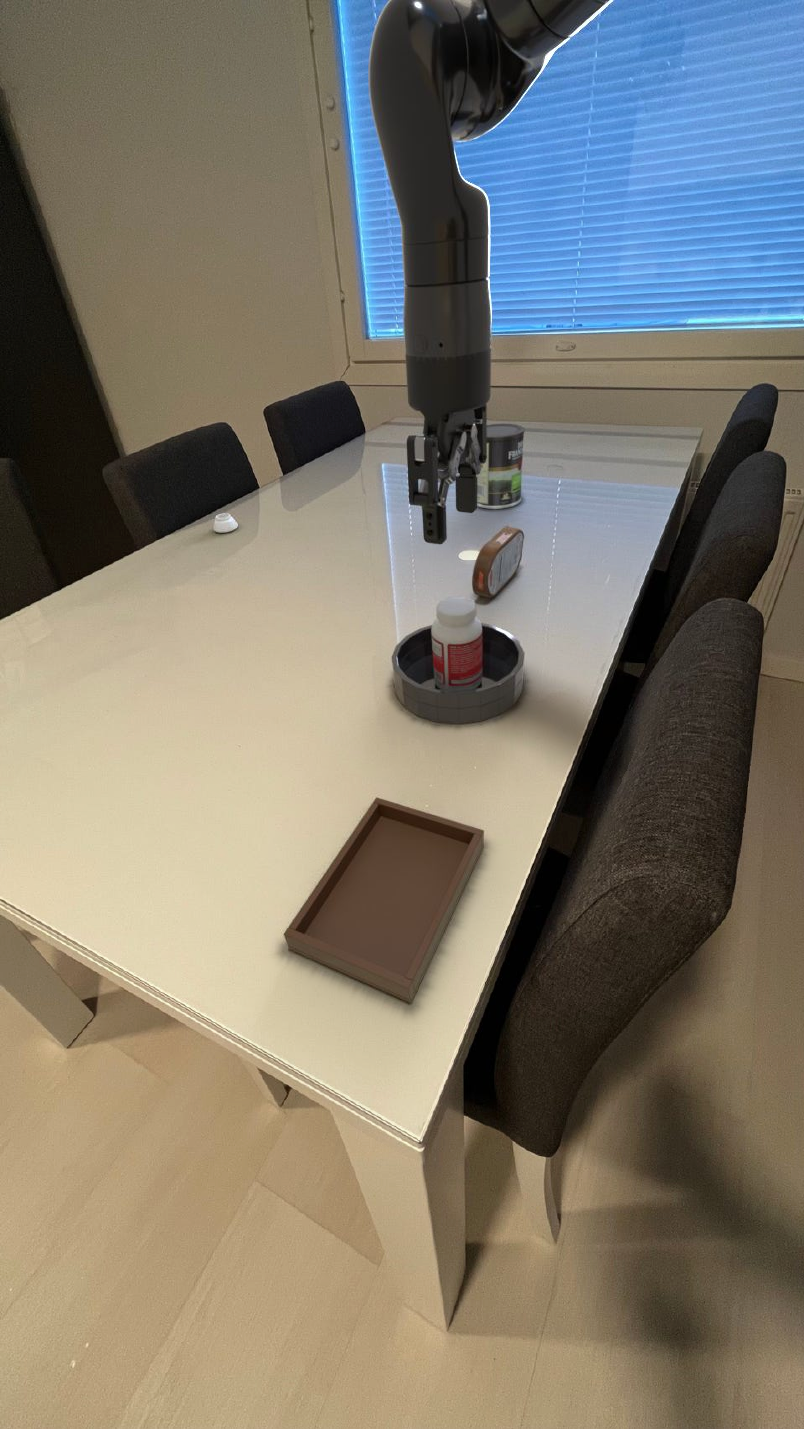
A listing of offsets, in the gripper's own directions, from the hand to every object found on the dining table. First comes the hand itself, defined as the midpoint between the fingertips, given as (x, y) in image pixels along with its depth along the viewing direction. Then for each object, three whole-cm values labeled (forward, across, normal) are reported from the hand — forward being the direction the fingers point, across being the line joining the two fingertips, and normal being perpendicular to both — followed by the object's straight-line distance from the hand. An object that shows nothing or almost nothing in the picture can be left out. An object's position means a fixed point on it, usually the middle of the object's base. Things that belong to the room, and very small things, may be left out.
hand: (451, 526), depth 63 cm
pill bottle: (+22, +2, 0) cm, 22 cm away
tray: (+22, -30, -6) cm, 37 cm away
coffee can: (+22, +66, +17) cm, 72 cm away
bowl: (+22, +2, 0) cm, 22 cm away
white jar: (+23, +37, +67) cm, 80 cm away
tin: (+22, +30, +4) cm, 37 cm away
